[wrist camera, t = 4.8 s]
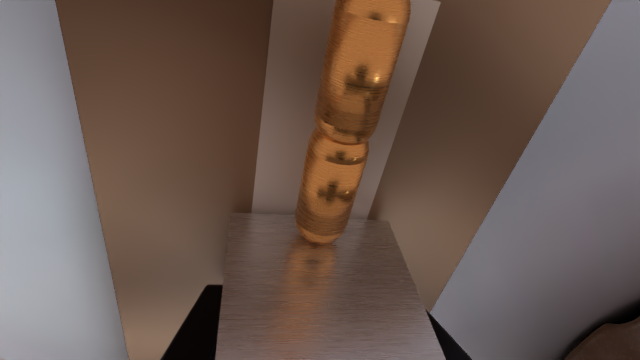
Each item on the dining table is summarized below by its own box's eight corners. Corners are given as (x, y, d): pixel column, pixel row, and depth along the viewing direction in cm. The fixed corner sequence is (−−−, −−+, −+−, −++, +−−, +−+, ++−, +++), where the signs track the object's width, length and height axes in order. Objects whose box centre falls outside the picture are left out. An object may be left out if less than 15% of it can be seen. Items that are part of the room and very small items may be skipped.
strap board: (354, 400, 20) (360, 434, 18) (155, 411, 17) (146, 450, 16) (584, -59, 8) (646, -54, 7) (62, -195, 6) (4, -226, 4)
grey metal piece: (360, 293, 11) (435, 581, 6) (225, 292, 10) (194, 622, 6) (478, -13, 6) (1140, 205, 2) (247, -63, 6) (152, 86, 1)
